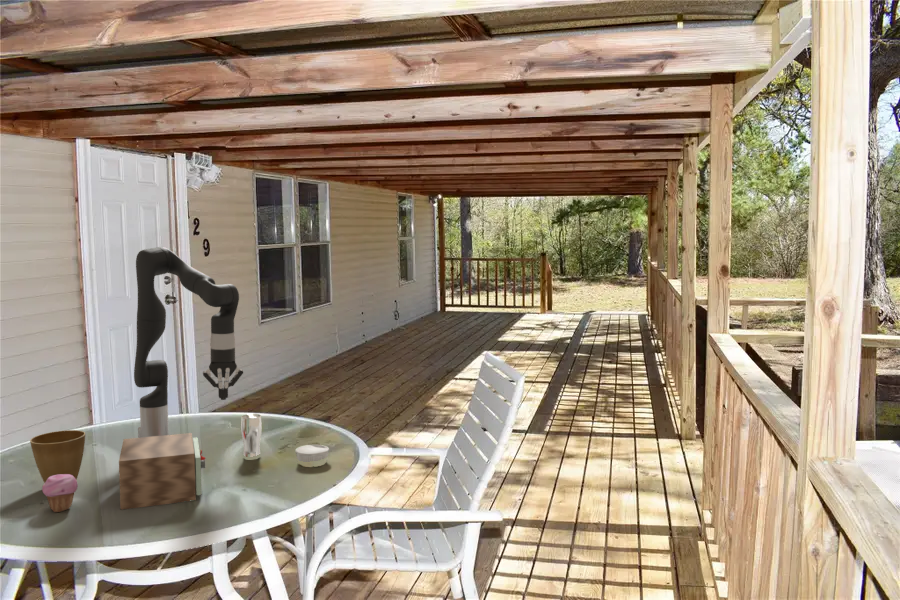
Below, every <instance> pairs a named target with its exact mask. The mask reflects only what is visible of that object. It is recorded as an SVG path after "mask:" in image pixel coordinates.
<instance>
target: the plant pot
mask: <svg viewBox="0 0 900 600" xmlns="http://www.w3.org/2000/svg"><path fill="white" fill-rule="evenodd" d="M29 443H30V447H31V451H32V454H33V458H34V460H35V465H36V467H37V470H38V472H39V474H40V477H41V479H42V481H43V484H44V483H45V482H46V480H47V479H48V478H49V477H50V476H53V475H58V474H70V475H73V476H74V477H75V479H76V480H78V476H79V473H80V470H81V467H82V462H83V456H84V451H85V443H86V432H85V431H83V430H77V429H76V430H75V429H69V430H68V429H67V430H58V431H57V430H56V431H51V432H46V433H42V434H41V433H40V434H38V435H36V436H33V437H32V438H30V440H29Z"/></svg>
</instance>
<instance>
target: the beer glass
mask: <svg viewBox="0 0 900 600" xmlns="http://www.w3.org/2000/svg"><path fill="white" fill-rule="evenodd" d="M240 418H241V420H240V421H241V423H240V431H241V432H240V433H241V439H242V443H243V455H244V456H246V457H253V456H257V455H259V454H261V450H260V449H261V448H260V447H261V445H260V444H261V439H262V431H263V428H262V426H263V424H262V416H261V414H258V413H247V414H243V415H241V417H240Z"/></svg>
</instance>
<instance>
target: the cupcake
mask: <svg viewBox="0 0 900 600" xmlns="http://www.w3.org/2000/svg"><path fill="white" fill-rule="evenodd" d="M77 480H78V479H77ZM77 480H76V479H75V477H74V476H73V475H70V474H58V475H53V476H50V477H49V478H48V479H47V480H46V482H45V483H44V482H43V485H42V490H41V491H42V493H43V495H44V496H46V498H47V502H48V504H49V508H50V509H51V511H52V512H54V513H61V512H64V511H67V510H69V509H70V508H71V507H72V505H73V502H74V501H73V500H74V495H75V493H76V491H77V490H78V485H79V483H78V481H77Z"/></svg>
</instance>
